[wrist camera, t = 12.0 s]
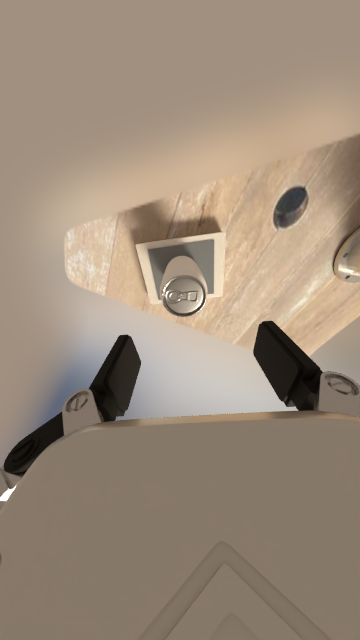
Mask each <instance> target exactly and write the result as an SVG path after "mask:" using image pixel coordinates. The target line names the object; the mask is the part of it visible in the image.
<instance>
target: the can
mask: <svg viewBox="0 0 360 640" xmlns="http://www.w3.org/2000/svg"><path fill="white" fill-rule="evenodd" d="M160 297H161V300H162V302H163V305H164V307H165V308H166V309H167V310H168V311H169V312H170V313H171V314H173V315H176V316H179V317H188V316H192V315H194V314H196V313H197V312H199V311H200V310H201V309H202V307H203V306H204V304H205V302H206V297H207V284H206V281H205V279H204V277H203V275H202V273H201V271H200V269H199V268H198V266H197V264H196V262H195V261H194V260H193V259H191V258H190V257H187V256H177V257H175V258H173V259H172V260H171V261H170V262H169V263H168V265H167V267H166V270H165V273H164V276H163V279H162V282H161V286H160Z"/></svg>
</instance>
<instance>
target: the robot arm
mask: <svg viewBox="0 0 360 640" xmlns="http://www.w3.org/2000/svg"><path fill="white" fill-rule="evenodd" d="M334 272H335V274H336V276H337V277H338V278H339V279H340V280H343V281H346V282H350V283H356V282H360V227H359V228H358V229H357V230H356V231H355V232H354V233H353V234H352V235H351V236H350V237H349V238H348V239H347V240H346V241H345V243H344V244H343V245H342V247H341V248H340V250H339V252H338V254H337V256H336V259H335V262H334ZM253 353H254V356H255V358H256V360H257V361H258V363H259V365H260V366H261V368H262V370H263V371H264V373H265V375H266V377H267V379H268V380H269V382H270V384H271V385H272V387H273V389H274V391H275V392H276V394H277V396H278V397H279V399H280V400H281V401H283V402H284V403H285V405H286V406H287V407H291V406H292V407H294V406H296V408H297V409H298V411H283V412H282V411H281V412H259V413H239V414H219V415H202V416H201V415H200V416H182V417H165V418H149V419H134V420H120V421H115V419H116V416H124V413H125V411H126V410H127V409H128V407H129V403H130V400H131V397H132V393H133V390H134V386H135V383H136V379H137V376H138V373H139V369H140V366H141V361H140V358H139V355H138V353H137V350H136V348H135V345H134V343H133V340H132V338H131V337H130V336H128V335H120V336H119V337H118V339H117V341H116V342H115V344H114V346H113V347H112V349H111V351H110V353H109V354H108V356H107V358H106V359H105V361H104V363H103V365H102V367H101V368H100V370H99V372H98V374H97V375H96V377H95V379H94V380H93V382H92V384H91V386H90V387H89V389H82V390H79V391H77V392H75V393H74V394H72V395H71V396H70V397H69V398H68V399H67V401H66V402H65V403H64V406H63V409H62V412H61V413H60V414H58V415H57V416H55V417H54V418H53V419H51V420H49V421H48V422H47V423H45V424H44V425H42V426H41V427H39V428H38V429H37V430H35V431H34V432H32V433H31V434H29V435H28V436H26V437H25V438H24V439H22V440H21V441H20V442H19V443H18V444H17V445H16V446H15V447H14V448H13V449H12V451H11V452H10V453H9V455H8V456H7V458H6V460H5V463H4V466H2V467H1V468H0V640H360V385H359V384H358V383H356V382H355V381H354V380H353V379H351V378H349V377H347V376H345V375H343V374H340V373H337V372H331V371H327V372H324V373H323V372H322V371H321V370H320V368H319V367H318V366H317V365H316V364H315V363H314V362H313V361H312V360H311V359H310V358H309V357H308V356H307V355H306V354H305V353H304V352H303V351H302V350H301V349H300V348H299V347H298V346H297V345H296V344H295V343H294V342H293V341H292V340H291V339H290V338H289V337H288V336H287V335H286V334H285V333H284V332H283V331H282V330H281V329H280V328H279V327H278V326H277V325H276V324H275V323H274V322H273V321H263V322H262V323H261V324H259V327H258V332H257V337H256V341H255V346H254V350H253Z"/></svg>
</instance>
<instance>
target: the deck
mask: <svg viewBox="0 0 360 640" xmlns="http://www.w3.org/2000/svg"><path fill="white" fill-rule="evenodd" d="M225 236H226V232H215V233H208V234H201V235H194V236H187V237H180V238H173V239H166V240H159V241H152V242H145V243H139V244H136V249H137V253H138V257H139V261H140V264H141V268H142V272H143V276H144V280H145V284H146V288H147V291H148V295H149V299H150V303H151V304H160V303H163V302H162V300H161V297H160V286H161V282H162V279H163V276H164V273H165V270H166V267H167V265H168V263H169V262H170V261H171V260H172V259H173V258H175V257H177V256H187V257H190V258H191V259H193V260H194V261H195V262H196V264H197V266H198V268H199V269H200V271H201V273H202V275H203V277H204V279H205V281H206V284H207V297H206V298H212V297H221V296H223V280H224V258H225Z"/></svg>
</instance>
